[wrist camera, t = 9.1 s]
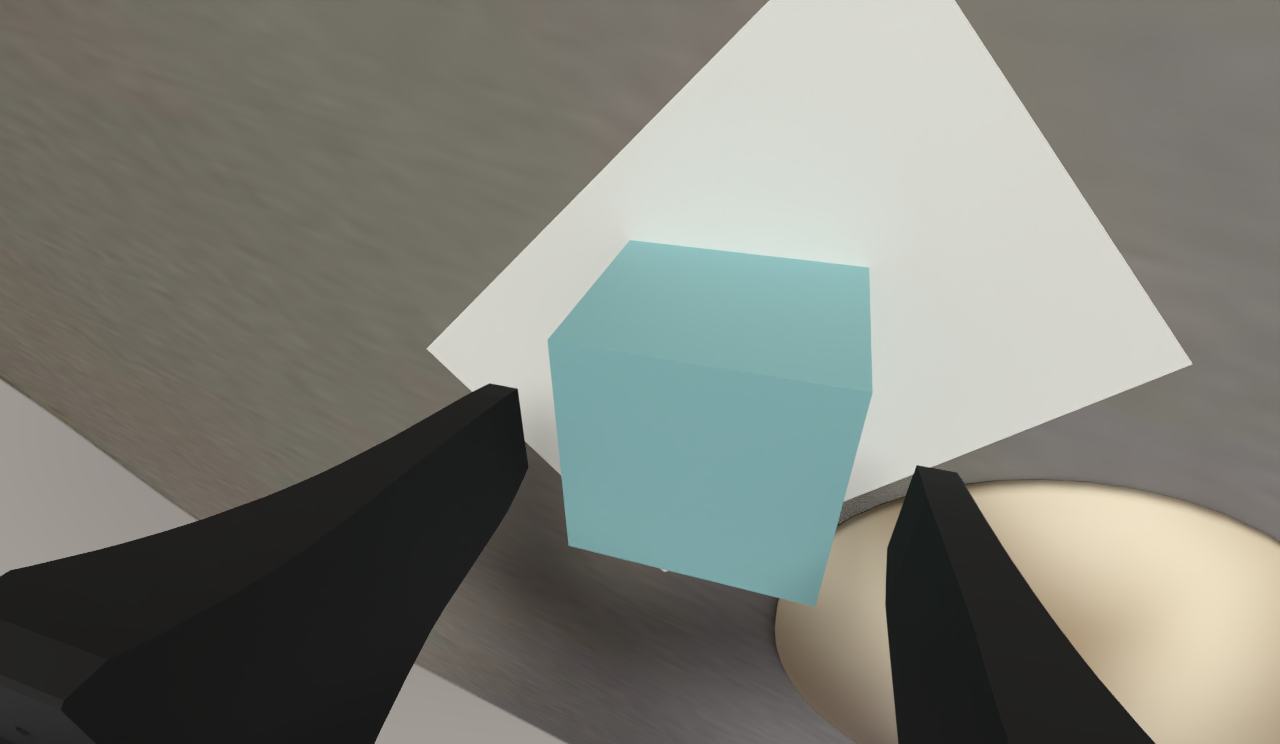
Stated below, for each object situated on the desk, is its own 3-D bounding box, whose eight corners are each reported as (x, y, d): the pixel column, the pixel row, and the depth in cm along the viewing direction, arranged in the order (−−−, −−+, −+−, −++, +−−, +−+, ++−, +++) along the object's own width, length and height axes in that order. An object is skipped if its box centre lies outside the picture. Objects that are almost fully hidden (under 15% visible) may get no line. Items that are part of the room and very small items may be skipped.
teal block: (632, 418, 16) (568, 545, 13) (629, 240, 13) (547, 339, 10) (826, 454, 15) (815, 606, 11) (868, 267, 12) (872, 393, 9)
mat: (668, 557, 20) (664, 572, 19) (438, 338, 17) (426, 348, 17) (1178, 347, 12) (1192, 363, 11) (879, -110, 9) (880, -113, 9)
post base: (928, 804, 23) (938, 929, 20) (689, 576, 20) (658, 686, 17) (1456, 771, 15) (1603, 971, 12) (1202, 383, 12) (1317, 525, 9)
